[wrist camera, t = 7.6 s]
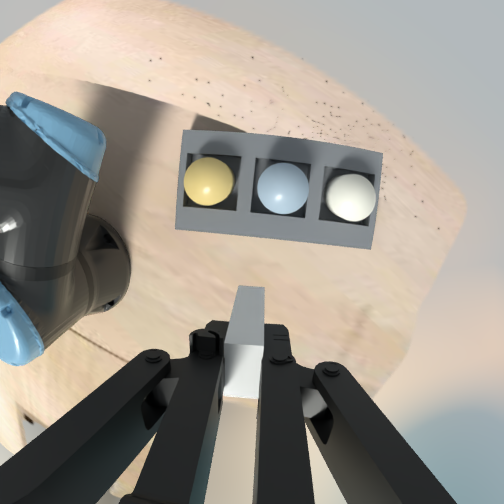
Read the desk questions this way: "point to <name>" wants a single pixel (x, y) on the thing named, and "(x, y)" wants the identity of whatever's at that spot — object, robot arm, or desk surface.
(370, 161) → the grey compartment tray
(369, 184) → the ivory button
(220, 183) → the ochre button
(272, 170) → the light blue rounded dome
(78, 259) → the robot arm
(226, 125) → the desk surface
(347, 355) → the desk surface
